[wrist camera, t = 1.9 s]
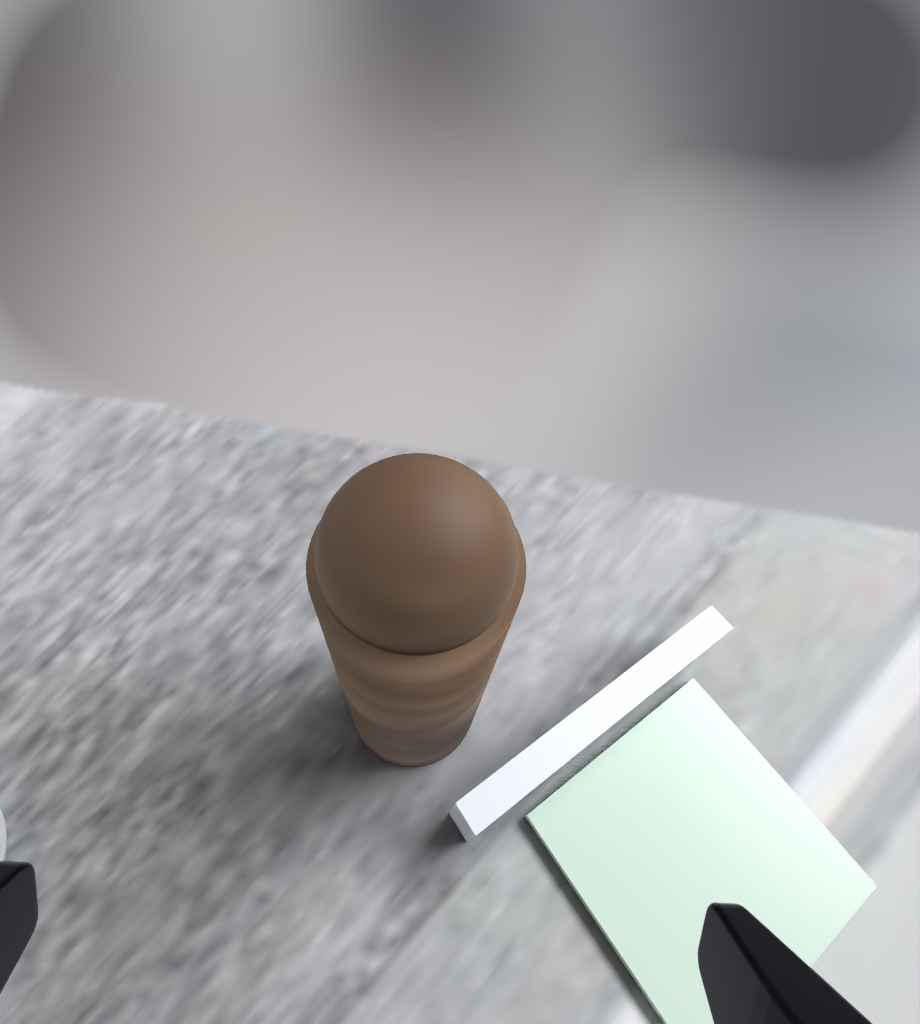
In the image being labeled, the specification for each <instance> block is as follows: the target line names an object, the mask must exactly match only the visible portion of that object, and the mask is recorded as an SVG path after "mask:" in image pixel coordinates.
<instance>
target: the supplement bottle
mask: <svg viewBox="0 0 920 1024" xmlns="http://www.w3.org/2000/svg"><path fill="white" fill-rule="evenodd" d="M6 842H7V833H6V824H5V820H4V816H3V813H2V810H1V808H0V861H4V859H5V853H6Z"/></svg>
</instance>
